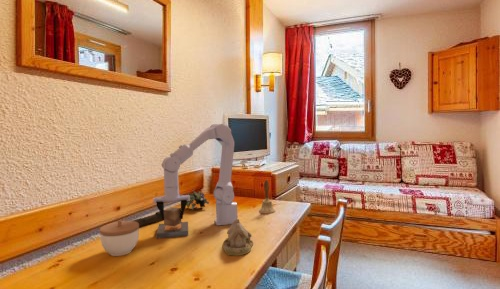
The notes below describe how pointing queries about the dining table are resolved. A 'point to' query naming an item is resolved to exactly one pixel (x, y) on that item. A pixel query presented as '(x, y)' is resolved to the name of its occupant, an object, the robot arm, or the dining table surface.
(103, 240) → the lidded bowl
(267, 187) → the hand bell
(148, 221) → the hand tool
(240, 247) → the ceramic model
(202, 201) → the green leafy plant
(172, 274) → the dining table surface
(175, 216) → the taupe wooden cube
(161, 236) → the grey square picture frame
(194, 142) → the robot arm
